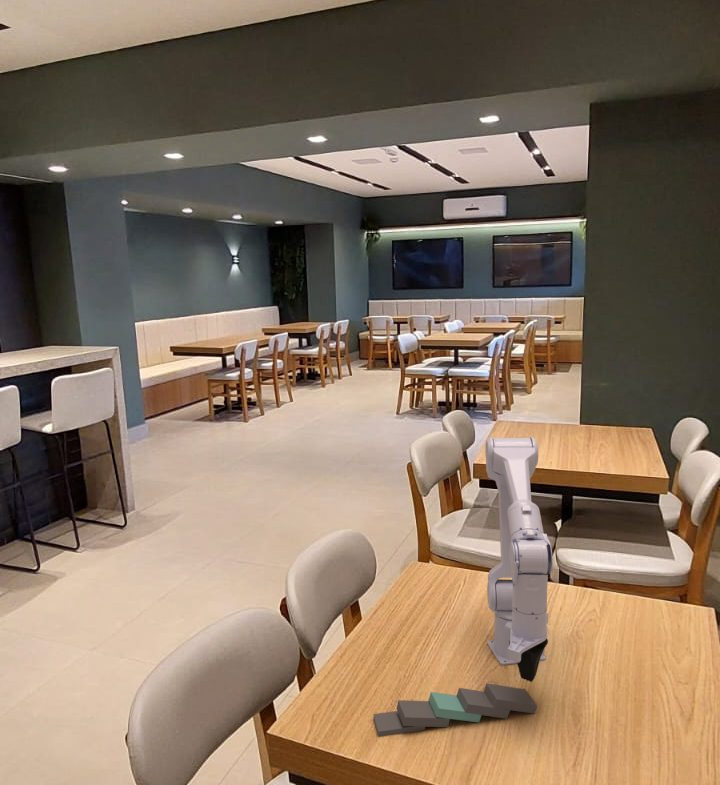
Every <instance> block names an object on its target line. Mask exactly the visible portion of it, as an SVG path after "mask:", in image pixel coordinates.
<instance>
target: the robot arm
mask: <svg viewBox="0 0 720 785" xmlns="http://www.w3.org/2000/svg"><path fill="white" fill-rule="evenodd" d="M538 445H539V444H538V441H537V440H536V439H535V438H534V436H529V437H491V436H490V437H488V438H487V439H486V440H485V446H484V447H485V450H484V451H485V452H484V454H485V471H486V473H487V478H488V479H490V480H493V481H495V484H496V487H497V492H498V515H499V516H498V518H499V538H500V543H499V544H500V562H499V563H498V564H496V565H495V566H494V567H492V568H490V570H489V571H488V574H487V585H486V586H487V587H486V590H487V593H486V594H487V605H488V608H489V610H490V611H491V612H494V629H493V630H494V633H493V636H494V637H493V638H494V639H493V640H488V641H487V642H486V644H487V645H488V647H489V648H490V650H491V651H492V653H493V655H494V656H495V658H496V660H497V661H498V662H499V664H500V665H501V666H507V665H513V664H514V665H515V664H516V665H517V667H518V672H519V675H520V678H521V679H522V680H524V681H525V680H526V681H528V682H531V683H532V682H533V681H534V680H535V677H536V676H537V672H538V668H539V664H540V661H545V660H546V659H547V658H546V656H545V655H546V654H545V648H546V647H547V645H548V644H549V640H548V625H547V624H548V622H549V621H548V620H549V613H548V612H547V610H548V609H547V608H548V579H549V577H548V576H549V575H551V574H552V573H553V572H552V571H553V564H554V562H553V560H554V559H553V556H554V555H553V551H552V545H551V541H550V540H549V538H548V534H547V533H544V532H545V531H544V528H543V527H544V526H543V523H542V516H541V511H540V508H539V506H538V505H537V504H536V503H534V502H532V492H531V491H532V490H531V478H532V477H533V475H534V473H535V470H536V468H537V465H538V463H539V446H538ZM548 574H549V575H548ZM505 578H507V579H505ZM508 578H511V579H508Z"/></svg>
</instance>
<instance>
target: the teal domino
mask: <svg viewBox="0 0 720 785" xmlns="http://www.w3.org/2000/svg"><path fill="white" fill-rule="evenodd" d="M428 701H429V702H430V704H431V707H432V709H433V711H434V713H435V715H436V717H441V718H448V719H450V720H456V721H466V722H474V723H480V721H481V719H482V715H478V714H472V713H465V711H464V709H463V707H462V705H461V703H460V702H459V700H458V698H457V694H449V693H442V692H435V691H430V694H429V697H428Z"/></svg>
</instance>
